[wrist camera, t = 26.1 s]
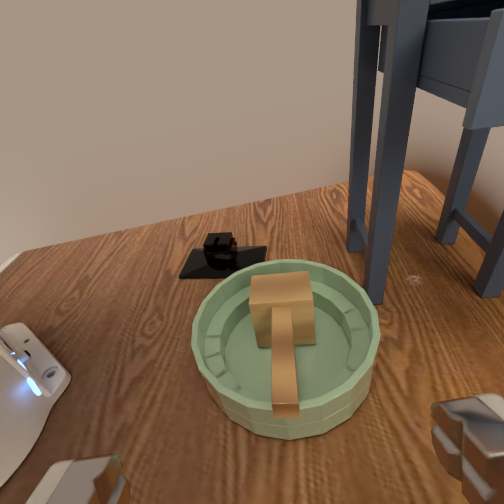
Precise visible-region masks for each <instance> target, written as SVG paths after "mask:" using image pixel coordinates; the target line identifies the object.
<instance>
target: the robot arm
mask: <svg viewBox="0 0 504 504" xmlns="http://www.w3.org/2000/svg"><path fill="white" fill-rule="evenodd" d="M70 380H71V375H70V373H69V372H68V371H67V370H66V369H65V368H64V366H63V365H62V364H61V363H60V362H59V361H58V360H57V359H56V357H55V356H54V355H53V354H52V353H51V352H50V351H49V350H48V348H47V347H46V346H45V345H44V344H43V343H42V342H41V341H40V340H39V338H38V337H37V336H36V335H35V334H34V333H33V332H32V331H31V329H30V328H29V327H27V326H26V325H25V324H24V323H15V324H11V325H7V326H4V327H1V328H0V487H1V486H2V485H3V484H4V483H5V482H6V481H7V480H8V479H9V478H10V476H11V475H12V474H13V473H14V472H15V471H16V469H17V468H18V467H19V466H20V464H21V463H22V462H23V460H24V459H25V458H26V456H27V455H28V453H29V452H30V450H31V449H32V447H33V446H34V444H35V442H36V441H37V439H38V437H39V435H40V433H41V431H42V429H43V427H44V424H45V422H46V420H47V417H48V415H49V412H50V410H51V408H52V407H53V405H54V403H55V402H56V401H57V400H58V398H59V397H60V396H61V394H62V393H63V392H64V390H65V389H66V388H67V386H68V384H69V382H70ZM431 416H432V418H433V419H434V420H435V421H436V422H437V423H436V424H435V426H434V427H433V428H432V430H431V435H432V443H433V446H434V449H435V452H436V455H437V457H438V459H439V460H440V462H441V464H442V466H443V467H444V468H445V470H446V471H447V473H448V474H449V475H451V476H453V477H454V478H456V479H457V480H459V481H461V482H462V493H463V495H464V496H465V497H466V499H467V500H468V502H469V503H470V504H504V399H503V398H502V397H501V396H499V395H497V394H495V393H492V392H491V393H485V394H480V395H474V396H471V397H470V396H469V397H463V398H457V399H451V400H445V401H439V402H433V404H432V406H431ZM122 466H123V464H122V461H121V459H120V456H119V454H108V455H100V456H93V457H85V458H77V459H74V460H66V461H58V462H56V463H55V464H53V465H52V466H51V467H50V468H49V470H48V471H47V473H46V474H45V475H44V477H43V478H42V480H41V481H40V483H39V484H38V486H37V487H36V489H35V490H34V492H33V493H32V495H31V496H30V498H29V499H28V500H27V502H26V503H25V504H129V502H130V488H129V484H128V480H127V479H126V478H125V477H124V476H122V475H121V474H120V471H121V468H122Z"/></svg>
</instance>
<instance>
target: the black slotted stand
mask: <svg viewBox="0 0 504 504" xmlns="http://www.w3.org/2000/svg"><path fill="white" fill-rule="evenodd" d="M203 246H204V248H198V249H192V251H191V253H190V255H189V257H188V259H187V261H186V263H185V265H184V267H183V269H182V271H181V273H180V275H179V279H217V278H227V277H229V276H230V275H232V274H233V273H235V272H237V271H239V270H242V269H244V268H247V267H249V266H251V265H254V264H257V263H261V262H265V256H266V250H267V246H248V247H237V242H236V241H235V237H234V238H233V236H232V232H227V233H209V234H208V236H207V238H206V240H205V242H204V244H203Z"/></svg>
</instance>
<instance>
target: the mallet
mask: <svg viewBox="0 0 504 504" xmlns="http://www.w3.org/2000/svg"><path fill="white" fill-rule="evenodd" d="M249 308H250V312H251V317H252V322H253V327H254V331H255V336H256V341H257V346H258V347H269V346H272V386H271V404H272V409H273V414H274V418H300V408H299V396H298V384H297V371H296V359H295V346H294V345H304V344H316V336H315V319H314V302H313V295H312V289H311V284H310V278H309V272H308V271H300V272H289V273H278V274H267V275H256V276H252V277H251V287H250V297H249Z"/></svg>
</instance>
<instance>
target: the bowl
mask: <svg viewBox="0 0 504 504" xmlns="http://www.w3.org/2000/svg"><path fill="white" fill-rule="evenodd" d="M300 271H308V272H309V278H310V284H311V289H312V295H313V302H314V319H315V336H316V344H304V345H294V346H295V359H296V371H297V384H298V396H299V408H300V418H274V414H273V409H272V404H271V386H272V346H269V347H258V346H257V341H256V336H255V331H254V327H253V322H252V317H251V312H250V308H249V297H250V287H251V277H252V276H256V275H267V274H278V273H289V272H300ZM380 338H381V335H380V328H379V321H378V314H377V310H376V309H375V307H374V305H373V304H372V302H371V300H370V298H369V297H368V295H367V293H366V292H365V291H364V289H363V288H361V287H360V286H359V285H358V284H357V283H356V282H355V281H353V280H352V279H351V278H350V277H349V276H348V275H346V274H344V273H342V272H340V271H338V270H336V269H334V268H332V267H330V266H328V265H325V264H321V263H316V262H312V261H307V260H302V259H278V260H272V261H267V262H261V263H257V264H254V265H251V266H249V267H247V268H244V269H242V270H239V271H237V272H235V273H233V274H232V275H230V276H229V277H227V278H226V279H224V280H223V281H222V282H220V283H219V284H217V285H216V286H215V288H214V289H213V290H212V291H211V292H210V293H209V294H208V296H207V297H206V298H205V299H204V300H203V301H202V303H201V305H200V307H199V310H198V312H197V314H196V316H195V318H194V320H193V326H192V338H191V347H192V350H193V354H194V357H195V360H196V363H197V366H198V369H199V371H200V373H201V375H202V377H203V380H204V382H205V384H206V386H207V388H208V390H209V392H210V394H211V396H212V398H213V399H214V401H215V402H216V403H217V404H218V405H219V407H220V408H221V409H222V410H223V412H224V413H225V414H226V415H227V416H228V418H229V419H230V420H232V421H234V422H236V423H237V424H239V425H241V426H243V427H244V428H246V429H248V430H250V431H251V432H253V433H255V434H257V435H262V436H268V437H274V438H280V439H285V440H292V439H298V438H303V437H309V436H315V435H320V434H323V433H325V432H327V431H329V430H330V429H332V428H334V427H335V426H337V425H339V424H340V423H342V422H344V421H345V420H347V419H349V418H350V417H351V416H352V415H353V413H354V412H355V411H356V409H357V408H358V407H359V406H360V404H361V403H362V402H363V400H364V399H365V398H366V397H367V395H368V393H369V390H370V386H371V382H372V379H373V375H374V372H375V367H376V361H377V356H378V349H379V343H380Z"/></svg>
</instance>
